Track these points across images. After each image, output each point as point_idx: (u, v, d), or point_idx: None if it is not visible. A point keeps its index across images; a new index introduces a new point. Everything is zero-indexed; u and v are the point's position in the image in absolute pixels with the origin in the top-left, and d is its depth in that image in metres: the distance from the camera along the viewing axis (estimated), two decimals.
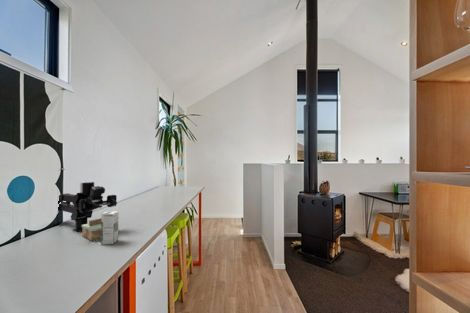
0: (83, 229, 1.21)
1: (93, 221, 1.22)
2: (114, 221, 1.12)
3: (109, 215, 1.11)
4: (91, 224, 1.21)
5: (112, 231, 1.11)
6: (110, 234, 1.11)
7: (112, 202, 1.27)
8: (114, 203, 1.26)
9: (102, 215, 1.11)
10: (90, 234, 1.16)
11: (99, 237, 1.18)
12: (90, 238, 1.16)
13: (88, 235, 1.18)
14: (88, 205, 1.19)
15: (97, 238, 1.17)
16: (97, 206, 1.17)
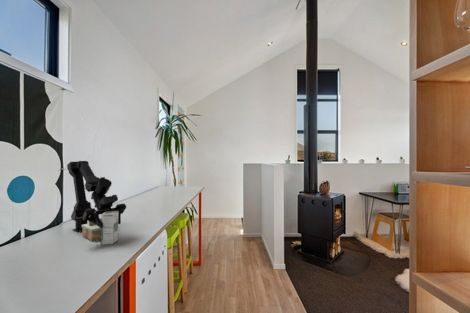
0: (83, 229, 1.21)
1: None
2: (114, 221, 1.12)
3: (109, 215, 1.11)
4: (91, 224, 1.21)
5: (112, 231, 1.11)
6: (110, 234, 1.11)
7: None
8: (118, 221, 1.17)
9: (102, 215, 1.11)
10: (90, 234, 1.16)
11: (99, 237, 1.18)
12: (90, 238, 1.16)
13: (88, 235, 1.18)
14: (94, 217, 1.11)
15: (97, 238, 1.17)
16: (100, 226, 1.10)
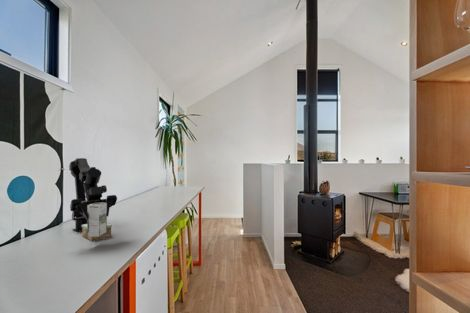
0: (83, 229, 1.21)
1: None
2: (99, 213, 1.07)
3: (95, 206, 1.07)
4: None
5: (97, 223, 1.07)
6: (95, 226, 1.07)
7: None
8: None
9: (88, 206, 1.07)
10: None
11: (99, 237, 1.18)
12: (90, 238, 1.16)
13: None
14: None
15: (97, 238, 1.17)
16: (86, 217, 1.06)
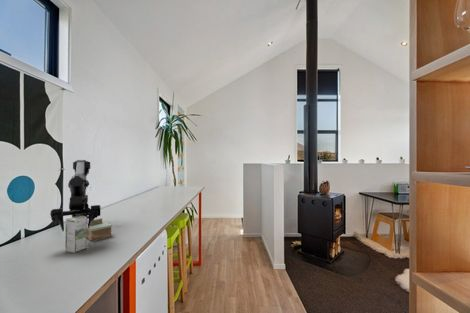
0: None
1: (93, 221, 1.22)
2: (75, 228, 1.02)
3: (71, 221, 1.02)
4: (91, 224, 1.21)
5: (73, 239, 1.01)
6: (72, 241, 1.02)
7: None
8: (88, 224, 1.07)
9: (66, 220, 1.03)
10: (90, 234, 1.16)
11: (99, 237, 1.18)
12: (90, 238, 1.16)
13: (88, 235, 1.18)
14: None
15: (97, 238, 1.17)
16: None
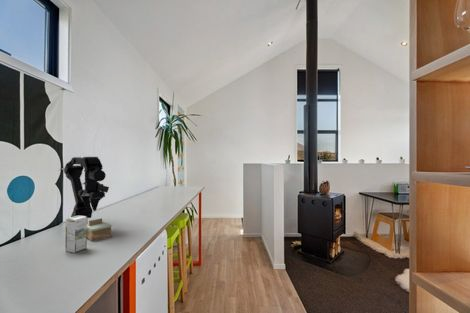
0: None
1: (93, 221, 1.22)
2: (75, 228, 1.02)
3: (71, 220, 1.02)
4: (91, 224, 1.21)
5: (73, 239, 1.01)
6: (72, 241, 1.02)
7: (87, 201, 1.28)
8: (87, 205, 1.28)
9: (66, 220, 1.03)
10: (90, 234, 1.16)
11: (99, 237, 1.18)
12: (90, 238, 1.16)
13: (88, 235, 1.18)
14: None
15: (97, 238, 1.17)
16: (95, 209, 1.23)
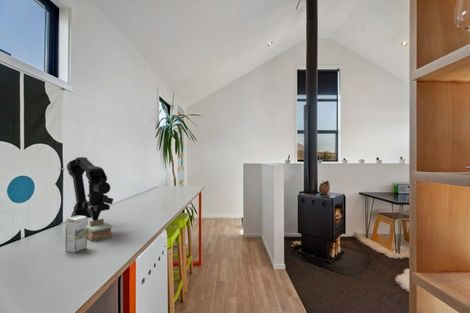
0: None
1: (94, 221, 1.21)
2: (75, 228, 1.02)
3: (71, 221, 1.02)
4: (92, 224, 1.20)
5: (73, 239, 1.01)
6: (72, 241, 1.02)
7: None
8: None
9: (66, 220, 1.03)
10: (90, 234, 1.16)
11: (99, 237, 1.18)
12: (90, 238, 1.16)
13: (88, 235, 1.18)
14: None
15: (97, 238, 1.17)
16: None
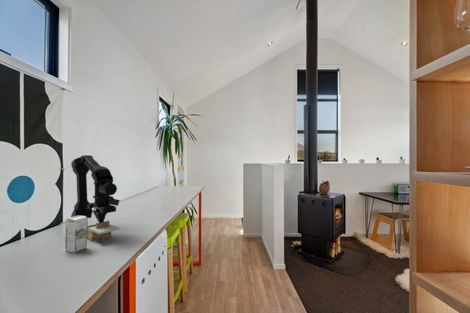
0: None
1: (100, 224, 1.17)
2: (75, 228, 1.02)
3: (71, 221, 1.02)
4: (98, 227, 1.16)
5: (73, 239, 1.01)
6: (72, 241, 1.02)
7: None
8: None
9: (66, 220, 1.03)
10: (90, 234, 1.16)
11: (99, 237, 1.18)
12: (90, 238, 1.16)
13: (88, 235, 1.18)
14: None
15: (97, 238, 1.17)
16: None
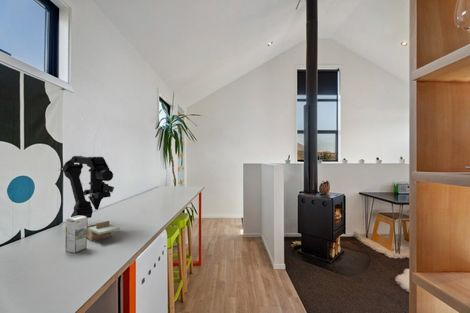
0: None
1: (100, 224, 1.17)
2: (75, 228, 1.02)
3: (71, 220, 1.02)
4: (98, 227, 1.16)
5: (73, 239, 1.01)
6: (72, 241, 1.02)
7: None
8: None
9: (66, 220, 1.03)
10: (90, 234, 1.16)
11: (99, 237, 1.18)
12: (90, 238, 1.16)
13: (88, 235, 1.18)
14: (98, 197, 1.25)
15: (97, 238, 1.17)
16: (97, 208, 1.26)
